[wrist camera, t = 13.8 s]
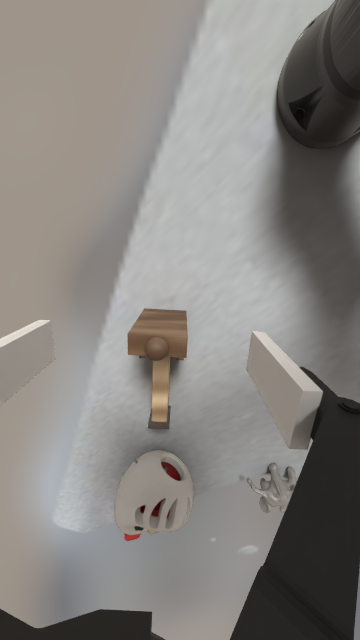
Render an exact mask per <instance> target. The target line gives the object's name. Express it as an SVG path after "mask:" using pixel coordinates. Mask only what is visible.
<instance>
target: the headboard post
mask: <svg viewBox="0 0 360 640" xmlns="http://www.w3.org/2000/svg"><path fill="white" fill-rule="evenodd" d="M187 340H188V335H187V317H186V311H178V310H160V309H144V310H143V312H142V313H141V315H140V316H139V318H138V319H137V321H136V322H135V324H134V325H133V327H132V328H131V330H130V331H129V333H128V355H139V358H146V357H148V358H149V359H151V360H153V361H160V360H162V359H164V358H165V357H177V360H184V358H186V355H187Z"/></svg>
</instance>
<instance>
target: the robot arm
mask: <svg viewBox="0 0 360 640" xmlns="http://www.w3.org/2000/svg"><path fill="white" fill-rule="evenodd" d="M278 108H279V113H280V116H281V119H282V122H283V124H284V126H285V128H286V129H287V131H288V132H289V133H290V135H291V136H292V137H293V138H294V139H295V140H297V141H298V142H300V143H301V144H303V145H306V146H308V147H312V148H329V147H333V146H336V145H338V144H341V143H343V142H344V141H346V140H348V139H349V138H351V137H352V136H354V135H355V134H357V133H358V132H359V131H360V0H335V1H334V2H333V3H332V5H331V6H330V7H329V8H328V9H327V10H326V11H324V12H323V13H321V14H320V15H319V16H317V17H316V18H315V19H314V20H313V21H312V22H311V23H310V24H309V25H308V26H307V27H306V28H305V30H304V31H303V32H302V33H301V35H300V36H299V38H298V39H297V41H296V42H295V44H294V46H293V48H292V50H291V51H290V53H289V55H288V57H287V59H286V61H285V63H284V66H283V68H282V71H281V75H280V79H279V84H278ZM54 360H55V351H54V342H53V333H52V325H51V321H49V320H38V321H36V322H34V323H32V324H30V325H28V326H26V327H24V328H22V329H20V330H18V331H16V332H13V333H12V334H9V335H7V336H5V337H3V338H1V339H0V406H1V405H2V404H3V403H5V402H6V401H7V400H8V399H9V398H10V397H11V396H13V395H14V394H15V393H16V392H17V391H19V390H20V389H21V388H22V387H23V386H24V385H26V383H28V382H29V381H30V380H31V379H33V378H34V377H35V376H36V375H37V374H38V373H40V372H41V371H42V370H43V369H44V368H45V367H46V366H48V365H49V364H50V363H51V362H52V361H54ZM246 369H247V371H248V373H249V375H250V377H251V379H252V380H253V382H254V384H255V386H256V388H257V390H258V392H259V394H260V395H261V397H262V399H263V401H264V403H265V405H266V407H267V408H268V410H269V412H270V414H271V416H272V418H273V420H274V421H275V423H276V425H277V427H278V429H279V431H280V433H281V435H282V436H283V438H284V440H285V442H286V444H287V446H288V448H289V449H307V450H308V446H309V442H310V439H311V438H312V440H313V443H312V445H311V448H310V450H309V453H308V455H307V458H306V460H305V463H304V465H303V468H302V471H301V473H300V476H299V478H298V481H297V483H296V486H295V488H294V491H293V493H292V496H291V498H290V501H289V503H288V506H287V508H286V511H285V513H284V516H283V518H282V521H281V523H280V526H279V528H278V531H277V533H276V536H275V538H274V541H273V544H272V546H271V548H270V551H269V553H268V556H267V558H266V561H265V563H264V565H263V566H261V568H260V569H259V571H258V573H257V575H256V577H255V580H254V582H253V585H252V587H251V589H250V592H249V594H248V597H247V599H246V601H245V604H244V607H243V609H242V611H241V614H240V616H239V619H238V621H237V623H236V626H235V628H234V631H233V633H232V636H231V638H230V640H354V625H355V613H356V600H357V589H358V577H359V565H360V404H359V403H357V402H355V401H353V400H350V399H346V398H341V397H338V396H337V395H336V394H335V393H334V392H333V391H331V390H330V389H329V388H328V387H327V386H326V385H325V384H324V383H323V382H322V381H321V380H320V379H318V377H317V376H316V375H315V374H313V373H312V372H311V371H309V370H307V369H305V368H304V367H298V366H297V365H296V364H295V363H294V362H293V361H292V360H291V359H290V358H289V357H288V356H287V355H286V354H285V353H284V352H283V351H282V350H281V349H280V348H279V347H278V346H277V345H276V344H275V343H274V342H273V341H272V340H271V339H270V338H269V337H268V336H267V335H266V334H265V333H264V332H256V331H252V335H251V342H250V348H249V355H248V361H247V368H246ZM151 627H152V612H144V611H122V610H101V609H100V610H97V611H94V612H91V613H88V614H84V615H81V616H78V617H76V618H72V619H69V620H66V621H63V622H60V623H57V624H54V625H50V626H48V627H44V628H34V627H32V626H30V625H28V624H26V623H24V622H23V621H21V620H19V619H17V618H15V617H14V616H12V615H10V614H8V613H7V612H5V611H3V610H1V609H0V640H165V639H163V638H162V637H160V636H158V635H156V634H154V633H152V632H151Z"/></svg>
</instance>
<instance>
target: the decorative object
mask: <svg viewBox="0 0 360 640" xmlns="http://www.w3.org/2000/svg"><path fill="white" fill-rule="evenodd" d="M166 465H167V466H168V469H167V470H166V469H165V466H166ZM193 499H194V488H193V482H192V478H191V475H190V473H189V471H188V469H187V467H186V466H185V464H184V463H183V462H182V461H181V460H180V459H179V458H178V457H177V456H175V455H174V454H172V453H170V452H167V451H162V450H154V451H150V452H147V453H145V454H143V455H141V456H140V457H138V458H137V459H136V460H135V461H134V462H133V463H132V464H131V465H130V466H129V467H128V469H127V470H126V472H125V473H124V475H123V477H122V479H121V481H120V483H119V485H118V488H117V491H116V496H115V504H114V511H115V519H116V524H117V526H118V528H119V529H120V530H121V531H122V532H123V533H125V540H126V541H129V540H134V539H137V538H138V537H139V536H140V535H141V533H143V532H146V531H148V532H149V533H150V534H154V533H158V532H172V531H175V530H178V529H180V528H181V527H183V526H184V525H185V524H186V522H187V521H188V518H189V516H190V513H191V509H192V506H193Z"/></svg>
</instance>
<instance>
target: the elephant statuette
mask: <svg viewBox="0 0 360 640" xmlns="http://www.w3.org/2000/svg"><path fill="white" fill-rule="evenodd" d="M269 470H270V471H271V481H268V482H267V481H265V479H263V478H262V479H261V482H260V484H261V488H262V489H257V488H256V487H255V486H254V485H253V484H252V482H251V480H250V479H249V478H247V482H248V483H249V484H250V486H251V488H252V489H253V490H254V491H255V492H257V493H259V494H261V495H262V497H261V499H260V503H259V504H260V507H261V509H262V510H263V511H264V512H266V513H269V512H270V511H271V508H273V507H275V506H280V511H281V512H285V511H286V508H287V506H288V503H289V501H290V498H291V496H292V493H293V491H294V488H295V486H296V483H297V481H296V476H295V471H294V470H293V468H291V467H288V469H287V472H288V480H282V479H281V478H280V475H279V473H278V467H277V465H276V464H275V463H273V464H270V465H269Z"/></svg>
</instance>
